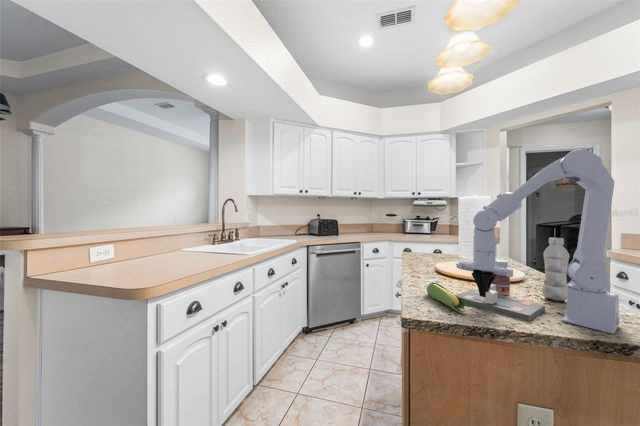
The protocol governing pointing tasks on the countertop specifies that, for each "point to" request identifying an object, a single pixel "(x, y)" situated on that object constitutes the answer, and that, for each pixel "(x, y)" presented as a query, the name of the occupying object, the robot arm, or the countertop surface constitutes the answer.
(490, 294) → the block
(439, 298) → the edible corn
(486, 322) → the countertop surface
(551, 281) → the plastic bottle
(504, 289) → the pill bottle
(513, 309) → the breaker panel
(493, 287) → the block
